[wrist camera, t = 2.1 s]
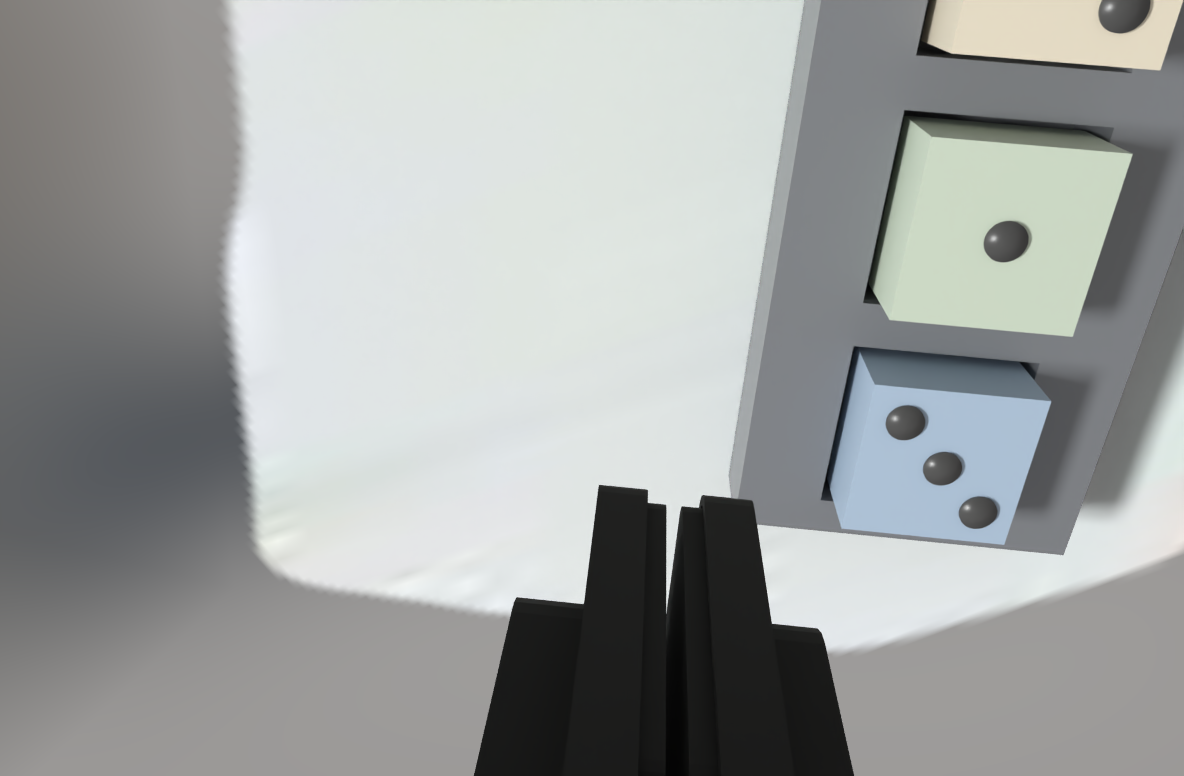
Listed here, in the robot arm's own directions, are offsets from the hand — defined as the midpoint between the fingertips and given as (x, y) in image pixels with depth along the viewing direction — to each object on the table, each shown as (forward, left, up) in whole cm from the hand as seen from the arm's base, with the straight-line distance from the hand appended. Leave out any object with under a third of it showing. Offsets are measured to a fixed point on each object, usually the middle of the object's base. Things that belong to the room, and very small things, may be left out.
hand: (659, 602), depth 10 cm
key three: (+7, +9, -19) cm, 22 cm away
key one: (0, +9, -19) cm, 21 cm away
